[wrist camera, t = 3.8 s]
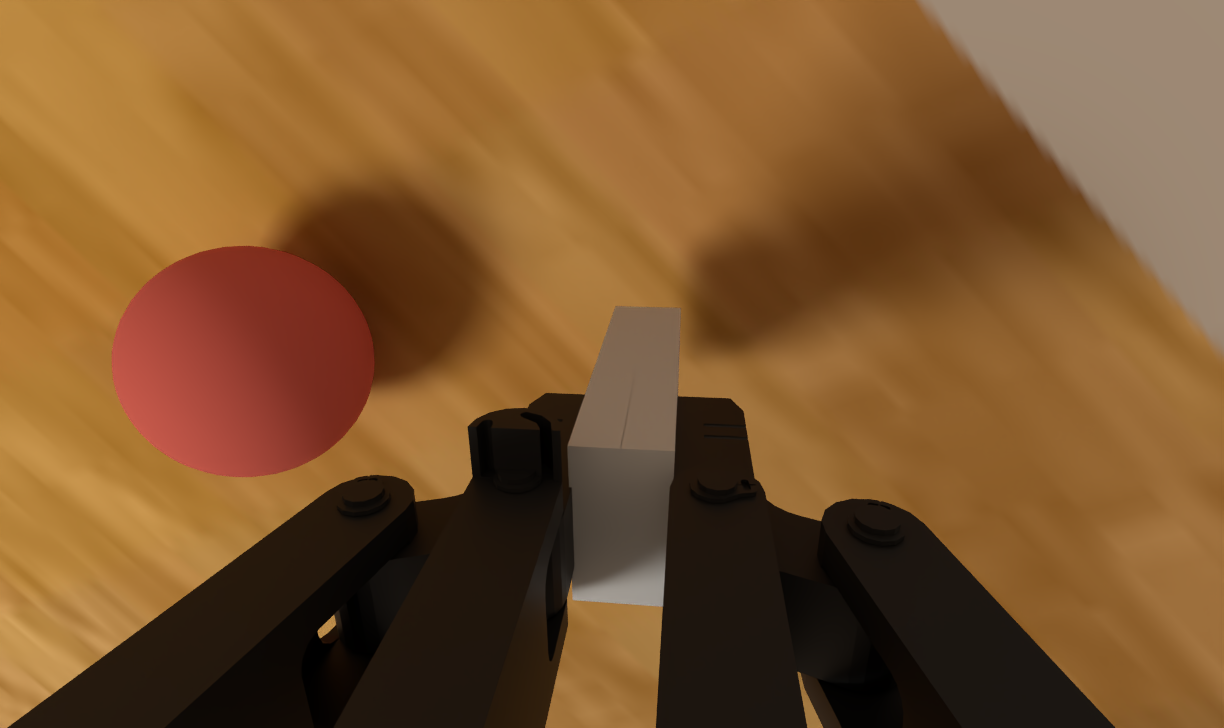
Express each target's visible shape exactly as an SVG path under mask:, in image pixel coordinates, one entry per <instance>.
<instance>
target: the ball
mask: <svg viewBox="0 0 1224 728" xmlns="http://www.w3.org/2000/svg"><path fill="white" fill-rule="evenodd" d="M374 365H375V360H374V348H373V342H372V337H371V333H370V330H369V327H368V324H367V322H366V320H365V317H364V315H363V313H362V311H361V310H360V308H359V306H358V305H357V303H356V302H355V300H354V299H353V298H352V296H351V295H350V294H349V293H348V291H347V290H346V289H345V288H344V287H343V286H342V285H341V284H340V283H339V282H338V281H337V280H336V279H334V278H333V277H332V276H331V275H329V274H328V273H327V272H325V271H324V270H322V269H321V268H319V267H318V266H316V265H314V264H312V263H310V262H308V261H306V260H304V259H302V258H300V257H298V256H295V255H292V254H289V253H287V252H283V251H278V250H274V249H269V248H264V247H254V246H234V247H222V248H217V249H212V250H208V251H203V252H199V253H197V254H194V255H191V256H189V257H186V258H184V259H182V260H179V261H177V262H175V263H174V264H172V265H170V266H168V267H167V268H165V269H164V270H162V271H161V272H159V273H158V274H157V275H155V276H154V277H153V278H152V279H151V280H149V281H148V282H147V283H146V284H145V285H144V286H143V287H142V289H141V290H140V291H139V292H138V293H137V294H136V295H135V297H134V298H133V299H132V300H131V302H130V304H129V305H128V307H127V309H126V311H125V313H124V314H123V316H122V318H121V320H120V322H119V325H118V328H117V331H116V335H115V339H114V344H113V349H112V372H113V381H114V385H115V389H116V392H117V395H118V398H119V400H120V403H121V405H122V407H123V409H124V411H125V413H126V414H127V416H128V417H129V419H130V420H131V422H132V423H133V425H134V426H135V427H136V428H137V430H138V431H139V432H140V433H141V434H142V435H143V436H144V437H145V438H146V439H147V440H148V441H149V442H150V443H151V444H152V445H153V446H155V447H156V448H157V449H158V450H160V451H161V452H163V453H164V454H165V455H167V456H168V457H170V458H172V459H174V460H175V461H177V462H179V463H182V464H184V465H186V466H188V467H191V468H194V469H197V470H200V471H203V472H207V473H211V474H216V475H222V476H231V477H255V476H263V475H270V474H276V473H280V472H283V471H287V470H290V469H293V468H296V467H298V466H301V465H303V464H305V463H307V462H309V461H311V460H313V459H315V458H317V457H318V456H320V455H321V454H323V453H324V452H326V451H327V450H328V449H330V448H331V447H332V446H333V445H335V444H336V443H337V442H338V441H339V440H340V439H341V438H342V437H343V436H344V435H345V434H346V433H347V432H348V430H349V429H350V428H351V427H352V425H353V424H354V423H355V422H356V420H357V419H358V417H359V415H360V413H361V412H362V410H363V408H364V406H365V404H366V402H367V399H368V396H369V394H370V390H371V386H372V381H373V376H374Z"/></svg>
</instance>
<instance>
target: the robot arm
mask: <svg viewBox="0 0 1224 728" xmlns="http://www.w3.org/2000/svg"><path fill="white" fill-rule="evenodd" d="M680 319H681V308H663V307H626V306H615V309H614V312H613V315H612V318H611V321H610V324H609V327H608V330H607V333H606V335H605V338H604V341H603V344H602V347H601V350H600V353H599V356H598V359H597V362H596V364H595V367H594V370H593V373H592V376H591V379H590V382H589V385H588V388H587V391H586V393H585V395H582V394H557V393H546V394H544V395H543V396H541V397H540V398H538V399H537V400H535V401H534V402H532V403H531V404H530V405H529V407H528V408H513V409H504V410H499V411H495V412H490V413H488V414H486V415H483V416H481V417H479V418H477V419H476V420H474V421H473V422H472V423H471V424H470V425H469V426H468V434H469V444H470V455H471V465H472V475H473V477H472V479H471V481H470V483H469V485H468V486H467V488H466V490H465V492H464V493H463V494H461V495H457V496H452V497H447V498H442V499H434V500H427V501H420V502H415V495H414V489H413V488H412V487H411V486H410V484H409V483H408V482H407V481H405V480H402V479H399V478H397V477H394V476H381V475H370V476H363V477H358V478H356V479H354V480H350V481H347V482H344V483H341V484H339V485H338V486H336V487H334V488H332V489H330V490H329V491H327V492H325V493H324V494H323V495H321V496H320V497H319V498H317V499H316V500H315V501H313V502H312V503H310V504H309V505H308V506H306V507H305V508H304V509H302V510H301V511H300V512H298V513H297V514H296V515H294V516H293V517H292V518H290V519H289V520H287V521H286V522H285V523H283V524H282V525H281V526H279V527H278V528H277V529H275V530H274V531H273V532H271V533H270V534H269V535H267V536H266V537H265V538H263V539H262V540H260V541H259V542H258V543H256V544H255V545H254V546H252V547H251V548H250V549H248V550H247V551H246V552H244V553H243V554H242V555H240V556H239V557H237V558H236V559H235V560H233V561H232V562H231V563H229V564H228V565H227V566H225V567H224V568H223V569H221V570H220V571H219V572H217V573H216V574H215V575H213V576H212V577H210V578H209V579H208V580H206V581H205V582H204V583H202V584H201V585H200V586H198V587H197V588H196V589H194V590H193V591H192V592H190V593H189V594H187V595H186V596H185V597H183V598H182V599H181V600H179V601H178V602H177V603H175V604H174V605H173V606H171V607H170V608H169V609H167V610H166V611H164V612H163V613H162V614H160V615H159V616H158V617H156V618H155V619H154V620H152V621H151V622H150V623H148V624H147V625H146V626H144V627H143V628H142V629H140V630H139V631H137V632H136V633H135V634H133V635H132V636H131V637H129V638H128V639H127V640H125V641H124V642H123V643H121V644H120V645H119V646H117V647H116V648H114V649H113V650H112V651H110V652H109V653H108V654H106V655H105V656H104V657H102V658H101V659H100V660H98V661H97V662H96V663H94V664H93V665H92V666H90V667H89V668H87V669H86V670H85V671H83V672H82V673H81V674H79V675H78V676H77V677H75V678H74V679H73V680H71V681H70V682H69V683H67V684H66V685H64V686H63V687H62V688H60V689H59V690H58V691H56V692H55V693H54V694H52V695H51V696H50V697H48V698H47V699H46V700H44V701H43V702H41V703H40V704H39V705H37V706H36V707H35V708H33V709H32V710H31V711H29V712H28V713H27V714H25V715H24V716H23V717H21V718H20V719H19V720H17V721H16V722H14V723H13V724H12V725H10V726H9V727H8V728H545V725H546V720H547V716H548V711H549V707H550V703H551V698H552V694H553V689H554V685H555V680H556V676H557V671H558V667H559V663H560V658H561V654H562V649H563V645H564V640H565V636H566V631H567V627H568V614H567V596H568V592H569V588H570V583H571V579H572V592H573V600H580V601H593V602H607V603H621V604H635V605H649V606H662V607H663V614H662V631H661V649H660V666H659V684H658V701H657V718H656V728H807V724H806V718H805V712H804V707H803V701H802V696H801V690H800V685H799V679H798V673H797V672H800V673H801V676H802V680H803V684H804V688H805V690H806V692H807V694H808V696H809V698H810V701H811V703H812V705H813V707H814V709H815V711H816V713H817V715H818V717H819V719H820V721H821V724H822V726H823V728H1115V727H1114V726H1113V725H1112V724H1111V723H1110V722H1109V721H1108V719H1107V718H1106V717H1105V716H1104V715H1103V714H1102V713H1101V712H1100V711H1099V710H1098V709H1097V708H1096V707H1095V706H1094V704H1093V703H1092V702H1091V701H1090V700H1089V699H1088V698H1087V697H1086V696H1085V695H1084V694H1083V693H1082V692H1081V691H1080V690H1079V688H1078V687H1077V686H1076V685H1075V684H1074V683H1073V682H1072V681H1071V680H1070V679H1069V678H1068V677H1067V676H1066V675H1065V674H1064V672H1063V671H1062V670H1061V669H1060V668H1059V667H1058V666H1057V665H1056V664H1055V663H1054V662H1053V661H1052V660H1051V659H1050V657H1049V656H1048V655H1047V654H1046V653H1045V652H1044V651H1043V650H1042V649H1041V648H1040V647H1039V646H1038V645H1037V644H1036V643H1035V641H1034V640H1033V639H1032V638H1031V637H1030V636H1029V635H1028V634H1027V633H1026V632H1025V631H1024V630H1023V629H1022V628H1021V627H1020V625H1019V624H1018V623H1017V622H1016V621H1015V620H1014V619H1013V618H1012V617H1011V616H1010V615H1009V614H1008V613H1007V612H1006V611H1005V609H1004V608H1003V607H1002V606H1001V605H1000V604H999V603H998V602H997V601H996V600H995V599H994V598H993V597H992V596H991V594H990V593H989V592H988V591H987V590H986V589H985V588H984V587H983V586H982V585H981V584H980V583H979V582H978V581H977V580H976V578H975V577H974V576H973V575H972V574H971V573H970V572H969V571H968V570H967V569H966V568H965V567H964V566H963V565H962V564H961V562H960V561H959V560H958V559H957V558H956V557H955V556H954V555H953V554H952V553H951V552H950V551H949V550H948V549H947V547H946V546H945V545H944V544H943V543H942V542H941V541H940V540H939V539H938V538H937V537H936V536H935V535H934V534H933V533H932V531H931V530H930V529H929V528H928V527H927V526H926V525H925V524H924V523H923V522H921V521H920V520H919V519H918V518H916V517H915V516H914V515H912V514H911V513H910V512H907V511H905V510H903V509H901V508H899V507H896V506H894V505H892V504H889V503H886V502H882V501H881V502H879V501H878V500H871V499H849V500H845V501H840V502H836V503H834V504H833V505H831V506H830V507H829V508H827V509H826V510H825V512H824V515H823V518H822V521H818V520H814V519H810V518H806V517H802V516H798V515H795V514H792V513H789V512H786V511H784V510H782V509H780V508H778V507H776V506H774V505H773V504H772V503H770V502H769V501H767V500H766V495H765V491H764V489H763V488H762V486H761V484H760V482H759V481H757V480H756V479H755V478H754V473H753V467H752V461H751V454H750V448H749V442H748V436H747V430H746V424H745V418H744V412H743V410H742V409H741V408H740V407H739V406H737V405H736V404H735V403H734V402H733V401H732V400H731V399H729V398H704V397H679V396H678V377H679V348H680ZM333 615H334V616H335V620H336V626H335V627H334V628H333V629H332V630H331V631H330V632H329V633H328V634H326V635H325V636H323V637H322V638H319V636H318V632H317V631H318V630H319V628H320V627H322V626H323V625H324V624H325V623H326V622H327V621H328V620H329V619H330V618H331V617H332V616H333Z"/></svg>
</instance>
